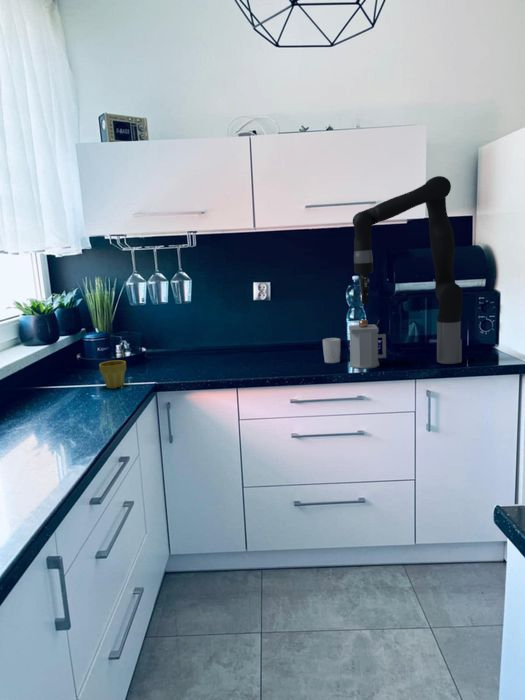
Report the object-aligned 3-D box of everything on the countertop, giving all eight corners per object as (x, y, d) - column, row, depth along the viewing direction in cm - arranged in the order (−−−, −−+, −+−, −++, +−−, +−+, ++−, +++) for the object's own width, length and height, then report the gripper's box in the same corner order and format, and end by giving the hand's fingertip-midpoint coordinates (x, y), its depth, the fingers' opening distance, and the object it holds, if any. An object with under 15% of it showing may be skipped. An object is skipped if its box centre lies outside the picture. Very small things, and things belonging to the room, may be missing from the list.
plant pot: (118, 390, 215) (115, 366, 213) (96, 389, 219) (93, 365, 217) (133, 383, 225) (130, 360, 223) (112, 382, 228) (109, 359, 226)
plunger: (373, 355, 236) (372, 318, 233) (376, 360, 227) (375, 321, 224) (352, 356, 236) (351, 319, 233) (354, 361, 227) (353, 322, 224)
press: (383, 361, 237) (383, 323, 234) (388, 367, 225) (387, 328, 222) (348, 362, 239) (347, 325, 235) (350, 369, 227) (349, 330, 223)
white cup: (344, 362, 241) (343, 339, 239) (328, 364, 238) (327, 341, 236) (335, 358, 248) (334, 337, 246) (320, 361, 245) (319, 339, 243)
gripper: (374, 261, 217) (376, 305, 220) (370, 260, 230) (371, 301, 233) (355, 263, 217) (357, 306, 221) (352, 261, 230) (354, 302, 234)
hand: (364, 303), depth 227 cm, fingers closed
